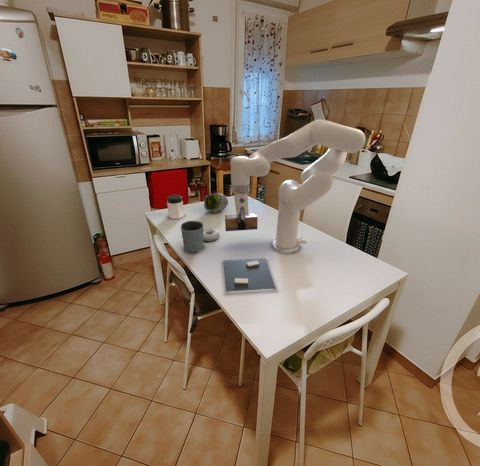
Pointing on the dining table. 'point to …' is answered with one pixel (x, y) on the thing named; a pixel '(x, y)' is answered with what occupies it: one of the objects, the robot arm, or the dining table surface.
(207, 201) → the potted plant
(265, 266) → the slate board
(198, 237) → the gray cup
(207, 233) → the donut
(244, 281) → the chalk mark
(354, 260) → the dining table surface
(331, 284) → the dining table surface
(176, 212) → the jar
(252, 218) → the eraser
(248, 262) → the chalk mark
